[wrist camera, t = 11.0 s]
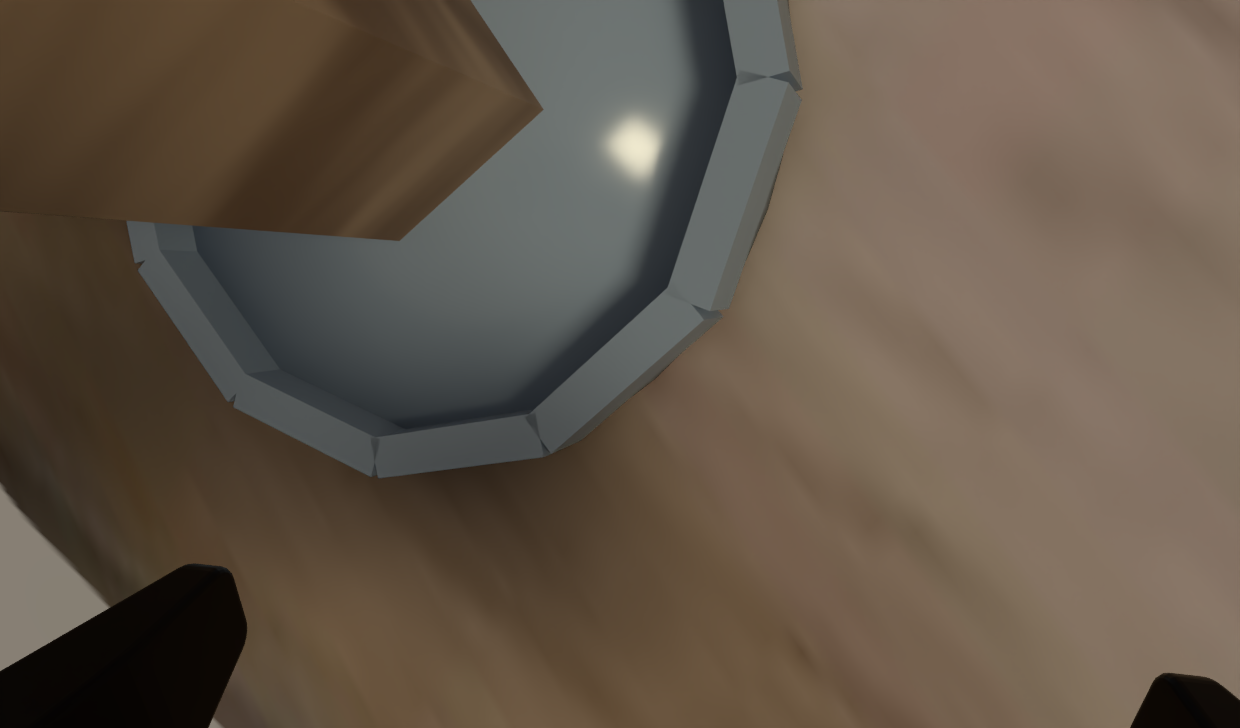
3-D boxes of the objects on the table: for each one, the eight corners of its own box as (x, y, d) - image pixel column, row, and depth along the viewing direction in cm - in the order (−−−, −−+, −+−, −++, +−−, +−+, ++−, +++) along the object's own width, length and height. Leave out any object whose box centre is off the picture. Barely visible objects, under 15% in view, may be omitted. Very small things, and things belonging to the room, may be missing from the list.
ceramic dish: (641, 569, 20) (610, 599, 18) (127, 317, 25) (62, 320, 23) (925, -239, 16) (922, -308, 14) (244, -325, 21) (178, -383, 20)
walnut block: (544, 109, 19) (-185, -208, 7) (399, 241, 20) (-384, 183, 8) (432, -58, 19) (-420, -627, 7) (301, 84, 21) (-557, -181, 9)
